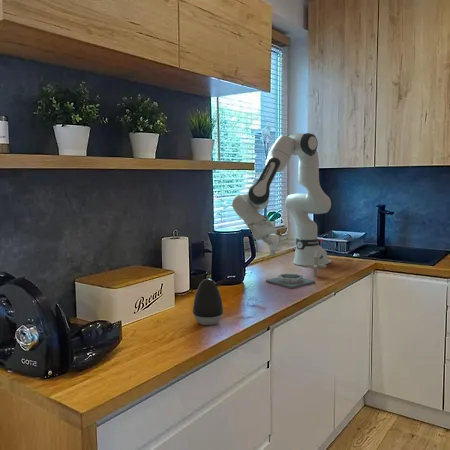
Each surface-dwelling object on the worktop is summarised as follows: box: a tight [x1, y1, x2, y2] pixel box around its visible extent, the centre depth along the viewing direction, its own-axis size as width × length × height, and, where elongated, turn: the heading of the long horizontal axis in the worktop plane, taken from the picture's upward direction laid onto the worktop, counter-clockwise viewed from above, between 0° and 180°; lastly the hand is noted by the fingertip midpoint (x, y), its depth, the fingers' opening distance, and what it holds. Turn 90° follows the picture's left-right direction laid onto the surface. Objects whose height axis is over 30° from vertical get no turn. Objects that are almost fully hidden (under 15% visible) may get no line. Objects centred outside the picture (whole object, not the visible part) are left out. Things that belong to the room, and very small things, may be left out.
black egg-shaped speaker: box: [192, 278, 224, 326], centre depth 152 cm, size 10×10×15 cm
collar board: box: [265, 273, 316, 290], centre depth 208 cm, size 16×16×3 cm
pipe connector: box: [304, 256, 327, 278], centre depth 220 cm, size 10×10×10 cm
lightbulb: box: [267, 233, 280, 257], centre depth 219 cm, size 6×6×11 cm
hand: (273, 243), depth 219 cm, fingers closed on lightbulb, 6 cm apart
